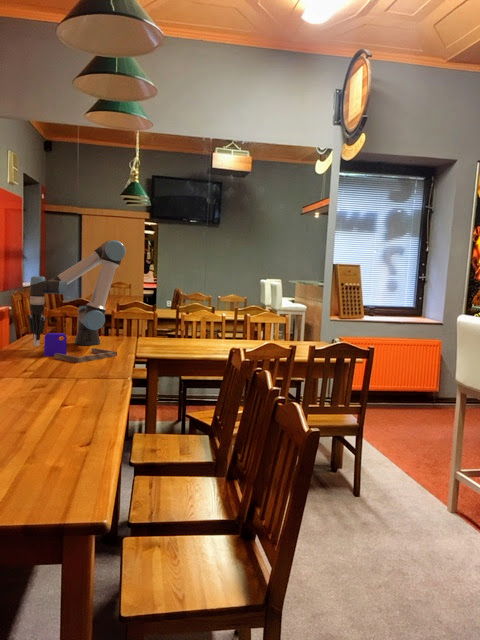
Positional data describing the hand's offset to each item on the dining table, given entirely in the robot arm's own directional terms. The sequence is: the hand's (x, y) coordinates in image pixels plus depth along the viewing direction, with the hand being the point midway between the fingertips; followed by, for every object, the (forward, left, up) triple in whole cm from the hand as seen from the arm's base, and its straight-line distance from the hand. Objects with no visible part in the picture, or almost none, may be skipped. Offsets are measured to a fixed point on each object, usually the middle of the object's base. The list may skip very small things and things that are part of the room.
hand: (36, 345), depth 290 cm
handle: (-1, +37, -2) cm, 37 cm away
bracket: (+2, +17, -2) cm, 17 cm away
